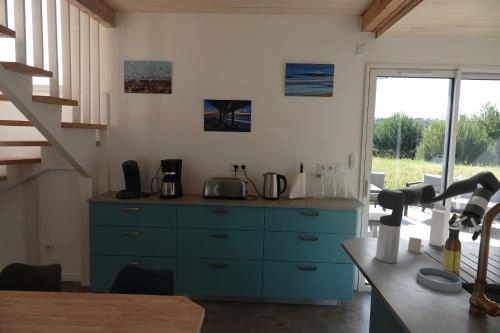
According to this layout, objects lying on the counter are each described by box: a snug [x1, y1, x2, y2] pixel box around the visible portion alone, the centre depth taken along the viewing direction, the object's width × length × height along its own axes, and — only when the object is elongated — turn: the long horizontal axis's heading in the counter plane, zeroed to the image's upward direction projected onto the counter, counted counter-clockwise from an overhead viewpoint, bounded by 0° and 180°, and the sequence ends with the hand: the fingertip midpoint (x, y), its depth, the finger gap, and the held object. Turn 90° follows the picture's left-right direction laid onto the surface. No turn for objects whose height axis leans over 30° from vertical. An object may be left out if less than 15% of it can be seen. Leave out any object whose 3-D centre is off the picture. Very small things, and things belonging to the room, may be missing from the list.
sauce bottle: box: [442, 226, 462, 276], centre depth 145 cm, size 7×6×20 cm
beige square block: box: [407, 236, 425, 253], centre depth 172 cm, size 3×7×7 cm, turn 58°
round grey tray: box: [415, 266, 463, 293], centre depth 134 cm, size 16×16×3 cm
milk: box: [428, 204, 448, 247], centre depth 185 cm, size 6×6×22 cm
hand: (461, 236), depth 146 cm, fingers open, 8 cm apart
